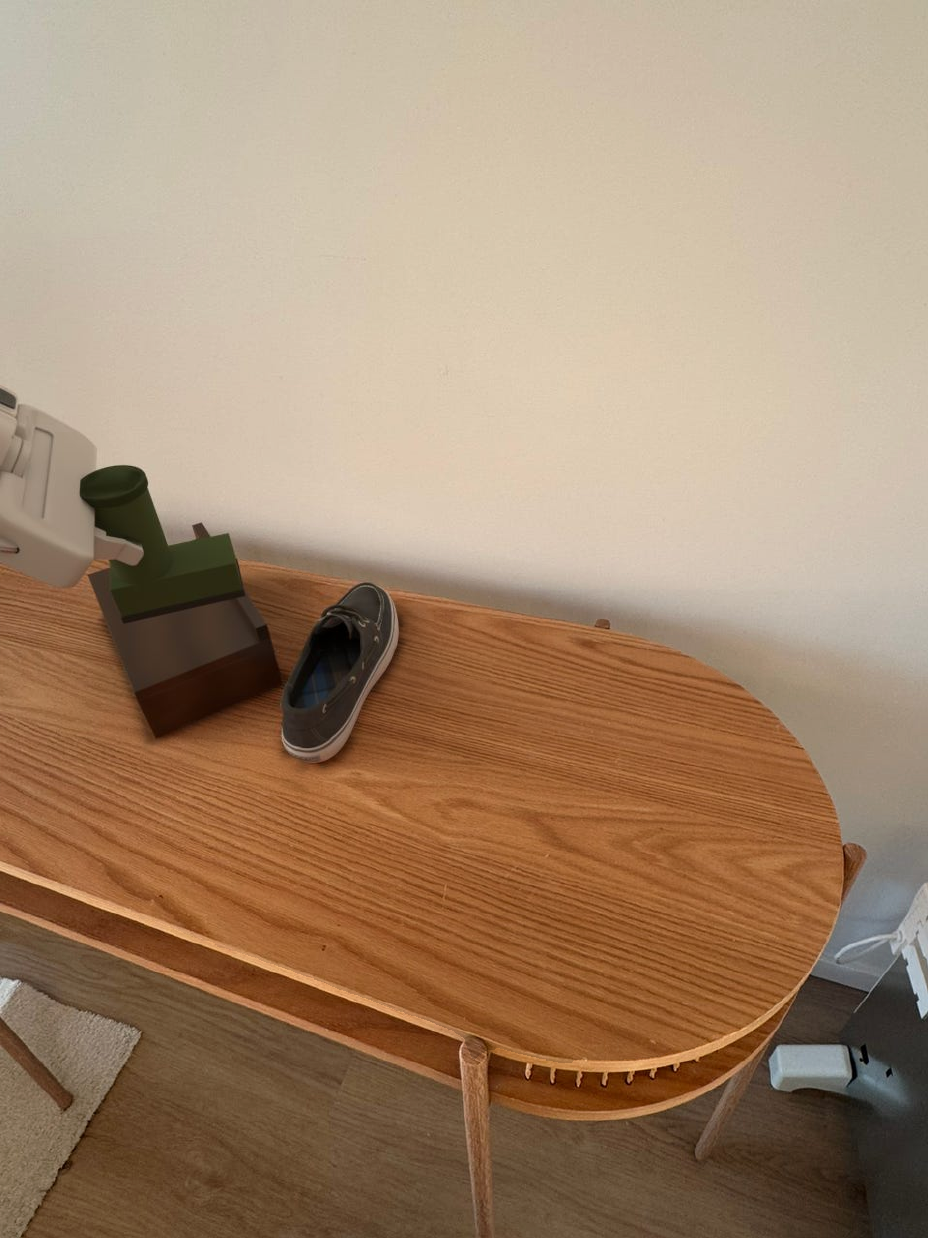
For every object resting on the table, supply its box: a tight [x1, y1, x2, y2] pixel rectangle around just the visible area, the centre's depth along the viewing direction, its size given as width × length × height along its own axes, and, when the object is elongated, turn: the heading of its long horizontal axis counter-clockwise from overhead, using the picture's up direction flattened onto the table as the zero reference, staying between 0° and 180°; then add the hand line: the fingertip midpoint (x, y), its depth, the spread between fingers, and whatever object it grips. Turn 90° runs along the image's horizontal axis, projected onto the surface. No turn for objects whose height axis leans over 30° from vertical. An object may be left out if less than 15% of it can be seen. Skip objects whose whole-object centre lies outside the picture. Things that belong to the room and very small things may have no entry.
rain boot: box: [79, 464, 246, 624], centre depth 67 cm, size 11×6×13 cm, turn 110°
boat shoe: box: [279, 582, 400, 764], centre depth 79 cm, size 26×9×8 cm, turn 165°
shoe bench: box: [87, 521, 284, 739], centre depth 82 cm, size 14×22×9 cm, turn 32°
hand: (139, 534), depth 66 cm, fingers closed on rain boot, 5 cm apart
